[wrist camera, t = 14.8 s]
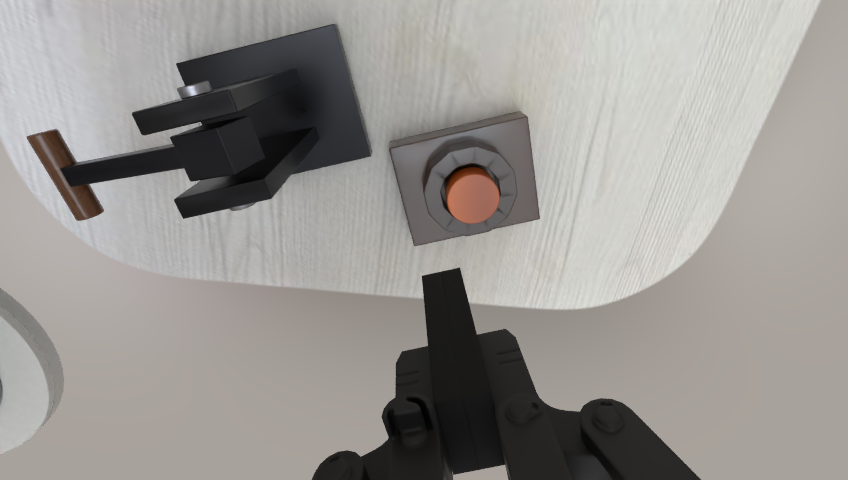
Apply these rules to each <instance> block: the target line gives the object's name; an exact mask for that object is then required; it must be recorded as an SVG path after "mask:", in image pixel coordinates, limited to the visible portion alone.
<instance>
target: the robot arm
mask: <svg viewBox="0 0 848 480" xmlns="http://www.w3.org/2000/svg"><path fill="white" fill-rule="evenodd" d="M422 282H423V293H424V303H425V314H426V327H427V338H428V346H426V347H421V348H417V349H413V350H407V351H402V353H401V355H400V357H399V359H398V361H397V362H396V397H395V398H394V399H393V400H391V401H390V402H389V403H388V404H387V405H386V407H385V408H384V411H383V414H382V420H383V422H384V425H385V428H386V431H387V434H388V436H389V438H388V440H387V441H386V442H385V443H384V444H383V445H382V446H380V447H378V448H377V449H375V450H373V451H372V452H370V453H368V454H366V455H364V456H362V457H360V456H359V455H358V454H357V453H355V452H352V451H341V452H337V453H335V454H333V455H331V456H329V457H328V458H326V459H325V460H324V461H323V462H322V463H321V464H320V465H319V467H318V469H317V470H316V472H315V474H314V476H313V478H312V480H453V475H454V474H459V473H464V472H470V471H475V470H480V469H485V468H490V467H495V466H500V465H506V470H507V475H508V479H509V480H701V479H700V478H699V477H698V476H696V474H695V473H694V472H693V471H692V470H691V469H690V468H689V467H688V466H687V465H686V464H685V463H684V462H683V461H682V460H681V459H680V458H679V457H678V456H677V455H676V454H675V453H674V452H673V451H672V450H671V449H670V448H669V447H668V446H667V445H666V444H665V443H664V442H663V441H662V440H661V439H660V438H659V437H658V436H657V435H656V434H655V433H654V432H653V431H652V430H651V429H650V428H649V427H648V426H647V425H646V424H645V423H644V422H643V421H642V420H641V419H640V418H639V417H638V416H637V415H636V414H635V413H634V412H633V411H632V410H631V409H630V408H629V407H627V406H626V405H625V404H623V403H621V402H618V401H615V400H613V399H602V398H601V399H596V400H593V401H590V402H588V403H587V404H585V405H584V406H583V408H582V409H581V411H580V412H575V411H565V410H559V409H555V408H553V407H550V406H549V405H547V404H546V403H544V402H543V401H542V400H541V399H540V398H539V396H538V394H537V393H536V390H535V387H534V385H533V382H532V380H531V377H530V374H529V372H528V369H527V366H526V364H525V361H524V359H523V356H522V353H521V351H520V348H519V345H518V343H517V340H516V337H514V336H513V335H512V334H511V333H510V332H509V331H508V330H506V329H503V330H498V331H493V332H488V333H484V334H479V335H477V334H476V330H475V326H474V322H473V318H472V314H471V310H470V306H469V302H468V298H467V294H466V290H465V286H464V282H463V278H462V275H461V271H460V268H456V269H452V270H447V271H442V272H438V273H433V274H429V275H424V276H422ZM2 395H3V389H2V382H1V379H0V404H1V401H2ZM452 471H453V474H452Z"/></svg>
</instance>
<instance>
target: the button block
mask: <svg viewBox="0 0 848 480" xmlns="http://www.w3.org/2000/svg"><path fill="white" fill-rule="evenodd" d="M389 151H390V155H391V159H392V162H393V166H394V170H395V174H396V178H397V182H398V186H399V189H400V193H401V197H402V201H403V205H404V209H405V212H406V216H407V220H408V224H409V228H410V232H411V236H412V239H413V243H414V246H418V245H423V244H427V243H432V242H436V241H441V240H446V239H450V238H455V237H459V236H470V235H475V234H480V233H484V232H489V231H491V230H492V229H496V228H501V227H505V226H510V225H514V224H519V223H524V222H528V221H533V220H537V219H540V216H539V207H538V199H537V191H536V182H535V174H534V166H533V157H532V149H531V141H530V132H529V124H528V117H527V116H526V115H525V114H523V113H522V112H515V113H511V114H507V115H503V116H498V117H494V118H490V119H485V120H481V121H477V122H473V123H468V124H464V125H460V126H455V127H451V128H447V129H443V130H438V131H434V132H430V133H425V134H421V135H417V136H412V137H408V138H404V139H400V140H395V141H391V142H390V147H389ZM468 167H476V168H480V169H482V170H484V171H486V172H487V173H488V174H489V175H490V176H491V177H492V179H493V180H494V182H495V184H496V185H497V187H498V190H499V194H500V201H499V205H498V207H497V209H496V211H495V212H494V214H493V215H492V216H491V217H490V218H488V219H487V220H485V221H483V222H480V223H475V224H468V223H464V222H461V221H459V220H457V219H456V218H455V217H454V216H453V215H452V214H451V212H450V211H449V209H448V205H447V201H446V197H445V189H446V185H447V182H448V181H449V179H450V178H451V176H452V175H453V174H454V173H456V172H457V171H459V170H461V169H464V168H468Z"/></svg>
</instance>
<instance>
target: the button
mask: <svg viewBox="0 0 848 480" xmlns="http://www.w3.org/2000/svg"><path fill="white" fill-rule="evenodd" d="M445 197H446V201H447V205H448V209H449V211H450V212H451V214H452V215H453V216H454V217H455V218H456V219H457V220H459V221H461V222H464V223H468V224H475V223H480V222H483V221H485V220H487V219H488V218H490V217H491V216H492V215H493V214H494V212H495V211H496V209H497V207H498V205H499V201H500V194H499V190H498V187H497V185H496V184H495V182H494V180H493V179H492V177H491V176H490V175H489V174H488V173H487V172H486V171H484V170H482V169H480V168H476V167H468V168H464V169H461V170H459V171H457V172H456V173H454V174H453V175H452V176H451V178H450V179H449V181H448V182H447V185H446V189H445Z"/></svg>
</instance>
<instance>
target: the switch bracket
mask: <svg viewBox="0 0 848 480" xmlns="http://www.w3.org/2000/svg"><path fill="white" fill-rule="evenodd" d="M176 65H177V68H178V70H179V72H180V75H181V77H182V79H183V81H184V84H185V86H184V87H180V88H177V91H178V93H179V95H180V98H181V99H178V100H174V101H171V102H167V103H164V104H160V105H157V106H153V107H150V108H146V109H143V110H139V111H136V112H133V113H132V116H133V118H134V120H135V122H136V124H137V126H138V128H139V130H140V132H141V134H142V135H148V134H152V133H156V132H160V131H164V130H169V129H173V128H177V127H181V126H185V125H189V124H193V123H197V122H201V123H202V125H205V124H209V123H214V122H219V121H224V120H229V119H233V118H238V117H243V116H249V117H250V119H251V122H252V125H253V127H254V130H255V133H256V135H257V138H258V140H259V143H260V146H261V148H262V151H263V153H264V156H265V159H264V160H262V161H260V162H258V163H257V164H255V165H253V166H251V167H249V168H247V169H246V170H244V171H242V172H240V173H238V174H237V175H231V176H224V177H218V178H211V179H205V180H201V181H199V182H198V183H197V184H195V185H194V186H192V187H191V188H190V189H188V190H187V191H185V192H184V193H183V194H181V195H180V196H178V197H177V198H176V199H174V201H175V203H176V205H177V207H178V209H179V211H180V213H181V215H182V217H183V219H185V218H189V217H193V216H198V215H202V214H206V213H211V212H215V211H220V210H224V209H228V208H229V209H230V210H231V211H236V210H241V209H245V208H247V207H250V206H252V205H254V204H255V203H256V202H259V201H263V200H268V199H271V198H272V197H273V196H274V195H275V194H276V193H277V191H278V190H279V189H280V188H281V186H282V185H283V184H284V183H285V181H286V180H287V179H288V178H289V177H290V175H292V174H296V173H301V172H305V171H309V170H313V169H318V168H322V167H326V166H331V165H335V164H339V163H344V162H348V161H352V160H357V159H361V158H365V157H370V156H371V154H372V150H371V146H370V143H369V139H368V135H367V132H366V128H365V125H364V121H363V117H362V114H361V110H360V107H359V103H358V99H357V96H356V92H355V88H354V85H353V81H352V78H351V74H350V70H349V67H348V63H347V60H346V56H345V52H344V49H343V45H342V42H341V38H340V34H339V31H338V27H337V25H336V24H332V25H328V26H324V27H320V28H316V29H312V30H308V31H304V32H300V33H296V34H292V35H288V36H284V37H280V38H276V39H272V40H268V41H264V42H260V43H256V44H252V45H248V46H244V47H240V48H236V49H232V50H228V51H224V52H220V53H217V54H213V55H209V56H205V57H201V58H197V59H193V60H189V61H185V62H181V63H177V64H176Z"/></svg>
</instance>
